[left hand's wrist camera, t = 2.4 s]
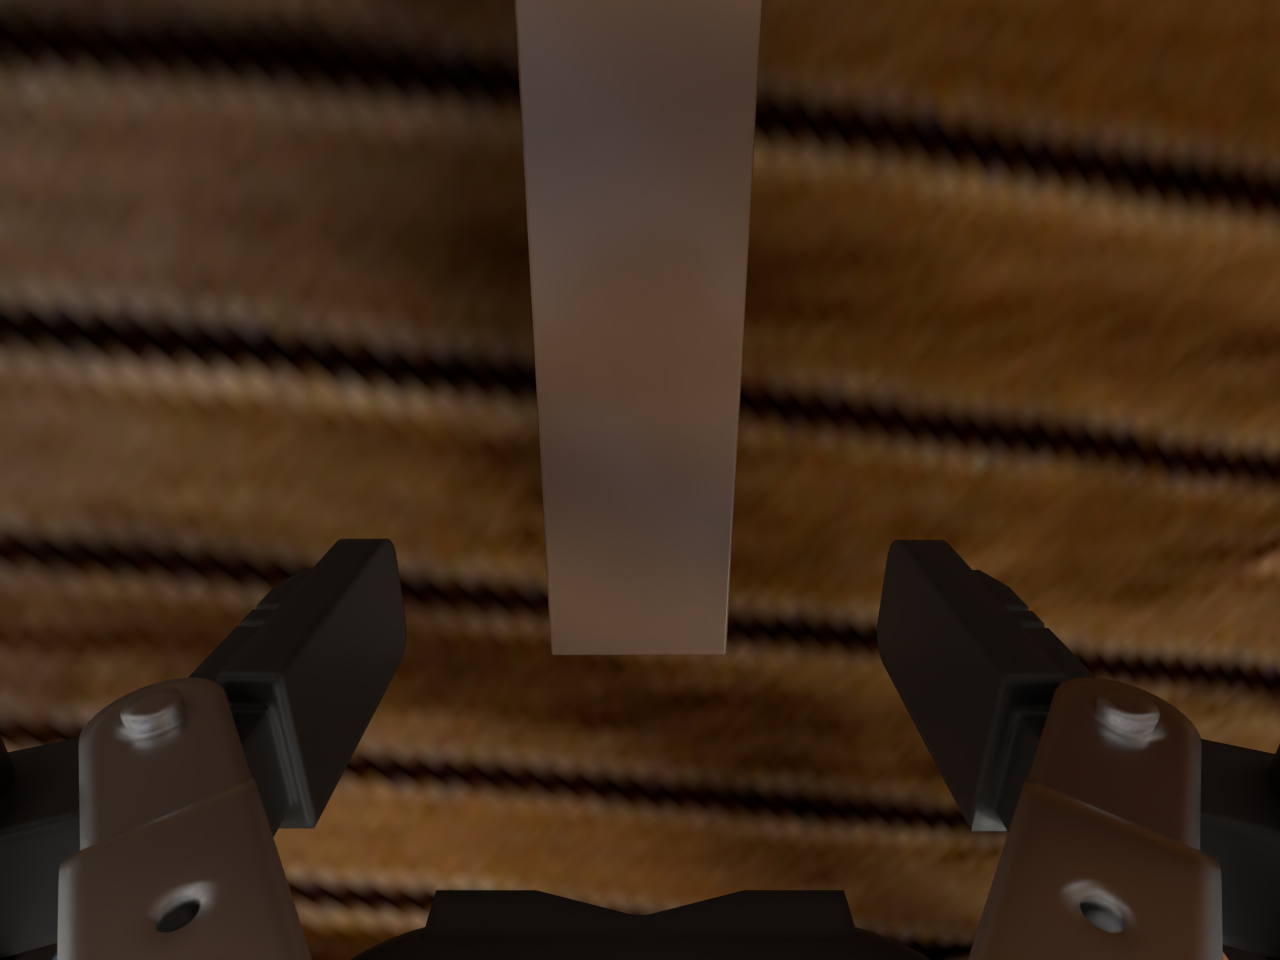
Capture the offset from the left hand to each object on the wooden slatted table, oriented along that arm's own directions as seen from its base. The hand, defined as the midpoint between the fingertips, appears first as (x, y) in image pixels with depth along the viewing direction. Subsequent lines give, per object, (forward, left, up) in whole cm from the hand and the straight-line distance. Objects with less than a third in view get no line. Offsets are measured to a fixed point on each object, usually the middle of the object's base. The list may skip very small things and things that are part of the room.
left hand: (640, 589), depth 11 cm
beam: (+23, +5, -13) cm, 27 cm away
